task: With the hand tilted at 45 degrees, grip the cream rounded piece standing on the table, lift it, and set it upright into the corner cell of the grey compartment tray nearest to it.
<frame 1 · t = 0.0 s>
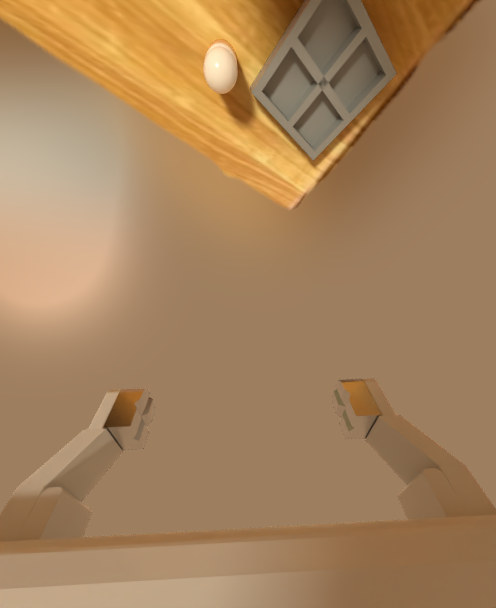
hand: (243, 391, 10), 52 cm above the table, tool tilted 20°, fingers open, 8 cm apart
cream rounded piece: (221, 62, 39), on the table
grey compartment tray: (318, 78, 41), on the table
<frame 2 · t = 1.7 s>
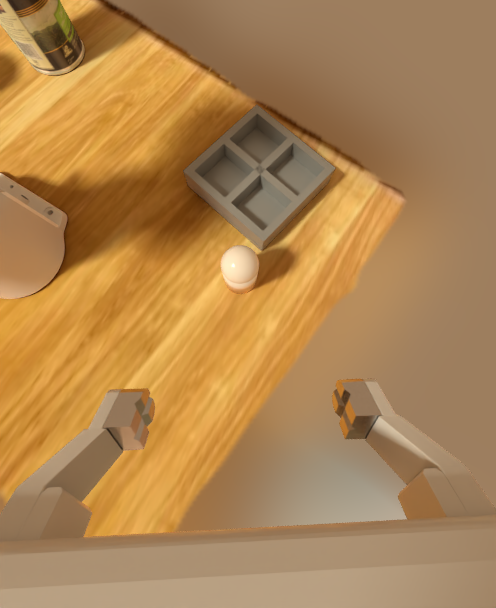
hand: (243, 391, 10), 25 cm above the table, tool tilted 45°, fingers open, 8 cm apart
cream rounded piece: (240, 278, 37), on the table
grey compartment tray: (258, 184, 40), on the table
coffee can: (57, 54, 43), on the table
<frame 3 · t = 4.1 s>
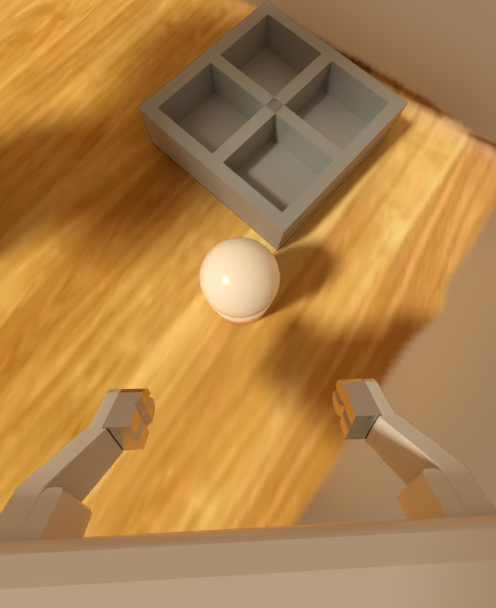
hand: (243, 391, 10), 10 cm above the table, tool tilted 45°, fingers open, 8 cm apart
cream rounded piece: (241, 297, 21), on the table
grey compartment tray: (270, 139, 24), on the table
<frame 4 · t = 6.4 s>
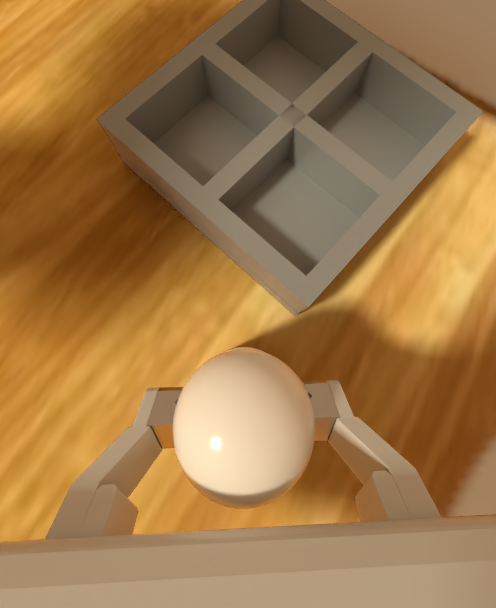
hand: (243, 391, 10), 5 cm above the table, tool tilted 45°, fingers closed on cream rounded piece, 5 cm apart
cream rounded piece: (244, 386, 15), on the table, touching gripper
grey compartment tray: (283, 159, 18), on the table
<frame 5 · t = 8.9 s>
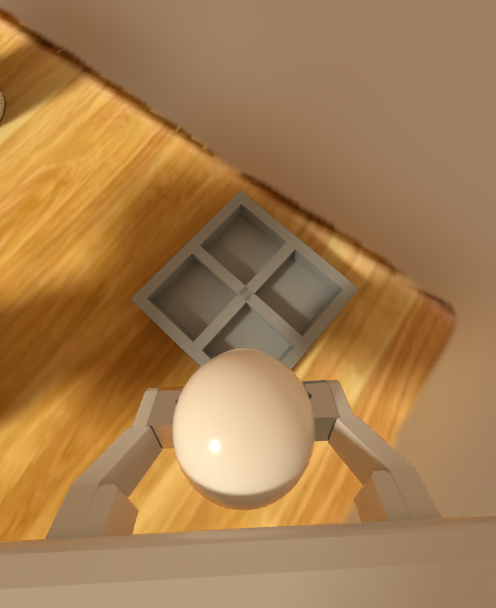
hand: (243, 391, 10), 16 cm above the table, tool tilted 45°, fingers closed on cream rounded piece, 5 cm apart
cream rounded piece: (244, 386, 15), point 11 cm above the table, touching gripper
grey compartment tray: (245, 300, 28), on the table
when the fingers open (7 cm above the table, at t = 11.7 s): cream rounded piece drops 1 cm, resting on grey compartment tray.
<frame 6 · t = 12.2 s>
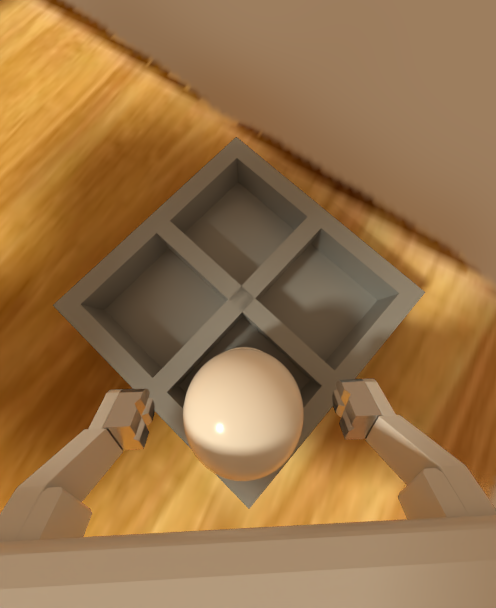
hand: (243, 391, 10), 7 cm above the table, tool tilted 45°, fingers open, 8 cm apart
cream rounded piece: (244, 382, 16), point 1 cm above the table, touching grey compartment tray
grey compartment tray: (242, 307, 18), on the table
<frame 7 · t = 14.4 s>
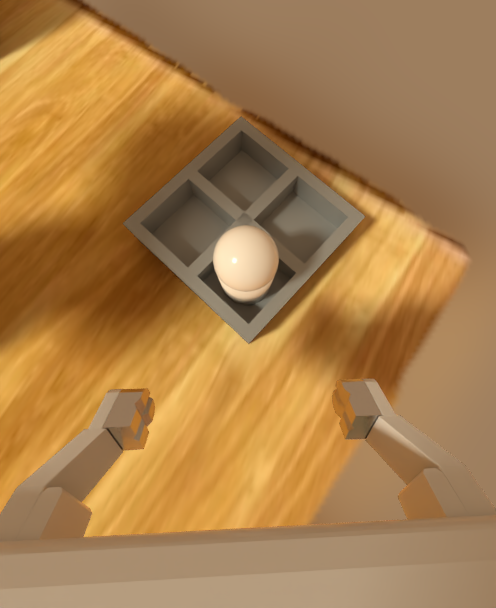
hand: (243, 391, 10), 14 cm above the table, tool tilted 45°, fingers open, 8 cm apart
cream rounded piece: (246, 281, 24), point 1 cm above the table, touching grey compartment tray
grey compartment tray: (245, 236, 26), on the table
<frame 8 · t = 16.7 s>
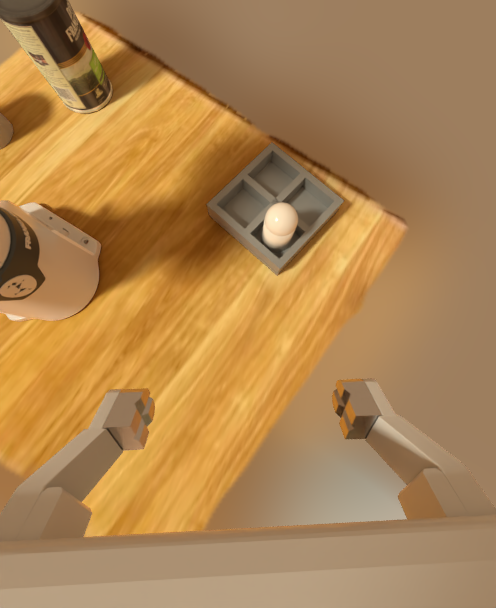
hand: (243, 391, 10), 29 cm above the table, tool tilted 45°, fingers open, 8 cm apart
cream rounded piece: (275, 239, 42), point 1 cm above the table, touching grey compartment tray
grey compartment tray: (273, 213, 44), on the table
coffee can: (87, 93, 47), on the table
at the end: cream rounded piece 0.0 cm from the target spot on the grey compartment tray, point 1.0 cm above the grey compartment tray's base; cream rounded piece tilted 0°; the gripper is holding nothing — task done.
